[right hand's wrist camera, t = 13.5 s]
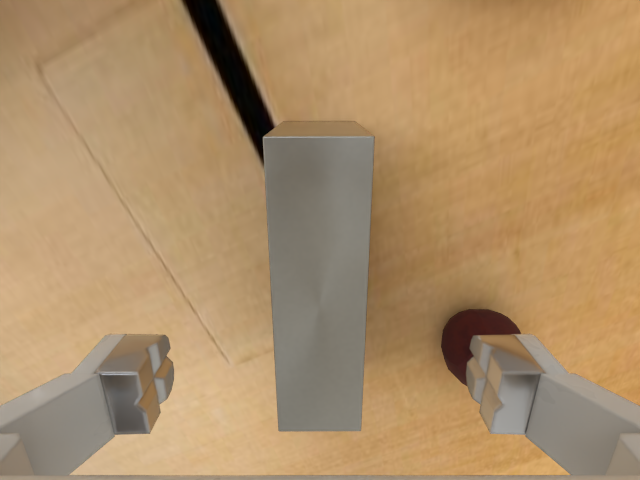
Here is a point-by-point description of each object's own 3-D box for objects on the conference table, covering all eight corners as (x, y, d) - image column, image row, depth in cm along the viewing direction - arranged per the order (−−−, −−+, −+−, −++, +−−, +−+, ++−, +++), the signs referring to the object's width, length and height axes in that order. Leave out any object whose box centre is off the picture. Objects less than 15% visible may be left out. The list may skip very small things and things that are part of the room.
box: (282, 121, 32) (262, 136, 21) (355, 121, 32) (374, 136, 21) (290, 334, 40) (278, 431, 28) (349, 334, 40) (361, 431, 28)
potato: (470, 369, 41) (499, 421, 35) (416, 332, 40) (435, 380, 33) (522, 322, 39) (562, 367, 33) (467, 281, 38) (498, 320, 31)
